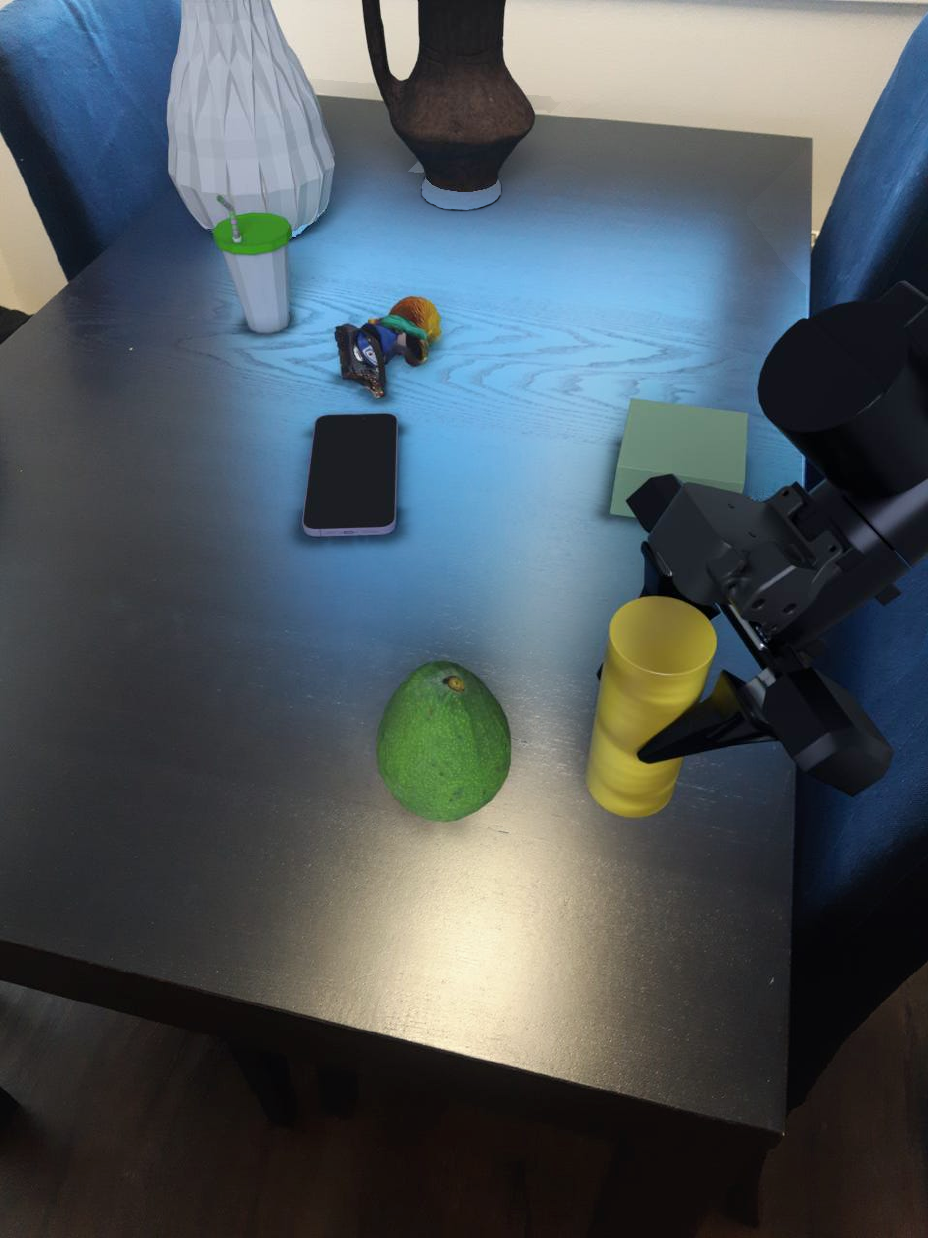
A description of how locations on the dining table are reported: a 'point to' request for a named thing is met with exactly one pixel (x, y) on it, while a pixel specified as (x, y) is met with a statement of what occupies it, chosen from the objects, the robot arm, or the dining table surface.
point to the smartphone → (352, 476)
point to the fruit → (443, 743)
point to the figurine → (388, 342)
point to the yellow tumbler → (645, 699)
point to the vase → (244, 118)
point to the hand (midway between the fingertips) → (620, 718)
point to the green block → (680, 448)
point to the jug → (453, 92)
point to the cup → (258, 265)
